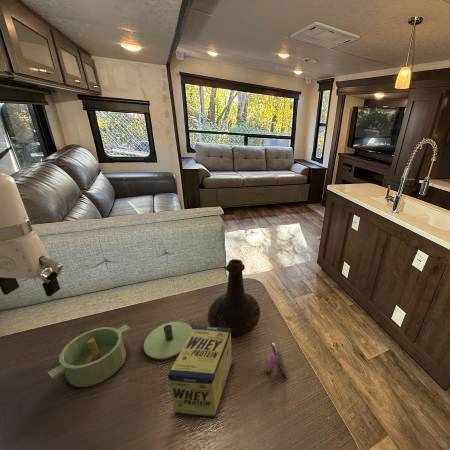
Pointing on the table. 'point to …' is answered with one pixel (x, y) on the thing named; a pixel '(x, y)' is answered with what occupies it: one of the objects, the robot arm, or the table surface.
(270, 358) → the purple flower twig
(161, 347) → the pot lid
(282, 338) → the table surface
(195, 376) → the protein box
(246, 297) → the glass bottle
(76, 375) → the pot
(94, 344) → the disc with rod handle
